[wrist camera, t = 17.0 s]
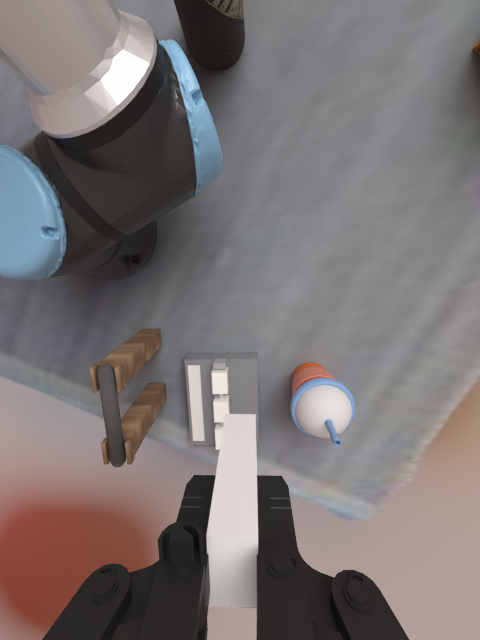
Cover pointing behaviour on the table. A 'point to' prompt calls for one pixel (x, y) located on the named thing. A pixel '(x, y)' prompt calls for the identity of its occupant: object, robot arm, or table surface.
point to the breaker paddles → (220, 401)
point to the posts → (149, 401)
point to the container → (213, 30)
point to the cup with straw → (320, 403)
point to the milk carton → (477, 47)
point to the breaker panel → (202, 396)
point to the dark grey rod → (111, 414)
